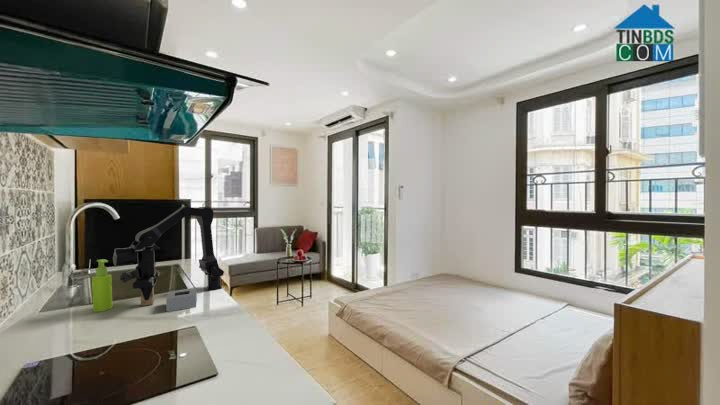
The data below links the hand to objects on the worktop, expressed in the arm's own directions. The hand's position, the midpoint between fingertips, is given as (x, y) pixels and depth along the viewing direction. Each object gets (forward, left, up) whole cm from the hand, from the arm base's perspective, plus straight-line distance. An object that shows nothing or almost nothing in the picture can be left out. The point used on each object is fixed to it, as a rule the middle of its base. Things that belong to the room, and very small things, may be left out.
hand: (147, 299), depth 121 cm
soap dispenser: (-3, -15, -3) cm, 16 cm away
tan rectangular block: (0, 0, -2) cm, 2 cm away
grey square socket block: (+8, +13, -2) cm, 15 cm away
